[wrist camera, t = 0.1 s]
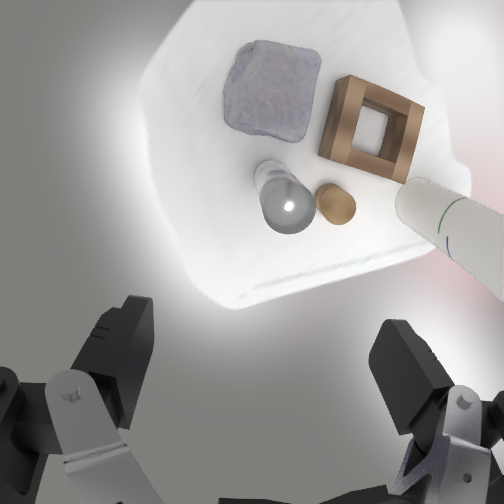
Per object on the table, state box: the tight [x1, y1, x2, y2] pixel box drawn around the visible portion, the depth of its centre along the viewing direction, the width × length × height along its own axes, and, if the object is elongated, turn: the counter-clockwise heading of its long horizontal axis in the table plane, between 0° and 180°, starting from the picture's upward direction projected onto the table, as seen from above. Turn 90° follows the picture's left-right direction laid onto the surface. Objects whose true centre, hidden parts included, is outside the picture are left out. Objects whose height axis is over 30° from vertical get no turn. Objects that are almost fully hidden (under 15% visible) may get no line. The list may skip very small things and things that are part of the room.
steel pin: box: [254, 160, 316, 234], centre depth 29 cm, size 4×4×15 cm
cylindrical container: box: [395, 178, 504, 303], centre depth 27 cm, size 7×7×25 cm
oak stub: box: [314, 184, 356, 225], centre depth 36 cm, size 4×4×4 cm
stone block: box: [224, 40, 321, 143], centre depth 31 cm, size 12×5×10 cm
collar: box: [318, 75, 425, 185], centre depth 32 cm, size 10×10×5 cm
